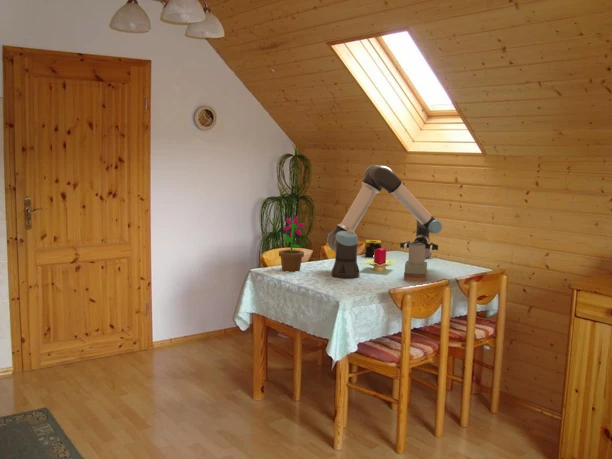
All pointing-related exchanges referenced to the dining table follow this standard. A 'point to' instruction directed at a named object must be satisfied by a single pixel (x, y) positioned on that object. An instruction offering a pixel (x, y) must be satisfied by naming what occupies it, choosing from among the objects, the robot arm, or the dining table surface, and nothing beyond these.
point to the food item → (427, 253)
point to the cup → (416, 253)
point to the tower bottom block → (415, 277)
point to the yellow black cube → (371, 247)
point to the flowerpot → (291, 257)
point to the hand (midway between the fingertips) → (417, 248)
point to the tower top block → (416, 268)
